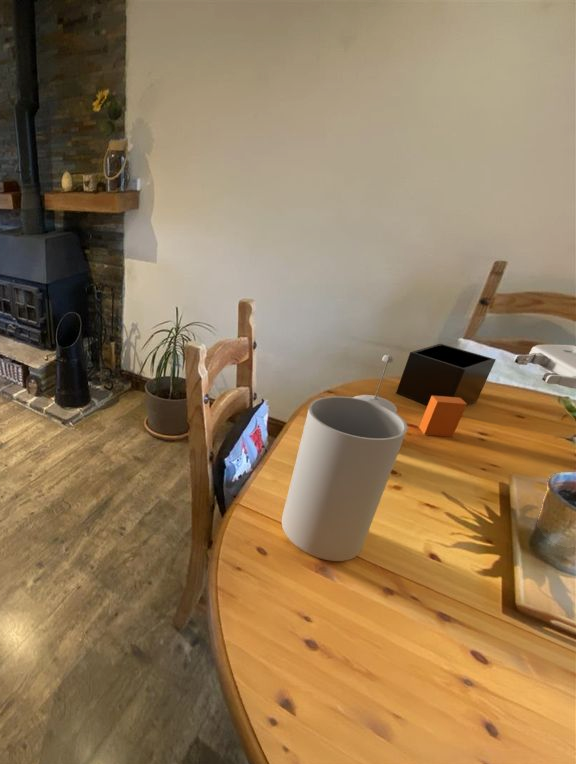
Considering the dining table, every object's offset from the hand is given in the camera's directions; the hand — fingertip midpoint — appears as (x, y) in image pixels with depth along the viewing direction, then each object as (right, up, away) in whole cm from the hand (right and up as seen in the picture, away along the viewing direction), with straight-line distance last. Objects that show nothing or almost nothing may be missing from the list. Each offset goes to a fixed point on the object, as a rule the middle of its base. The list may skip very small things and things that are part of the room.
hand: (530, 368), depth 88 cm
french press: (-34, -20, +4) cm, 40 cm away
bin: (+2, -7, +25) cm, 26 cm away
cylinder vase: (-53, -31, -13) cm, 63 cm away
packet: (-10, -15, +11) cm, 21 cm away
